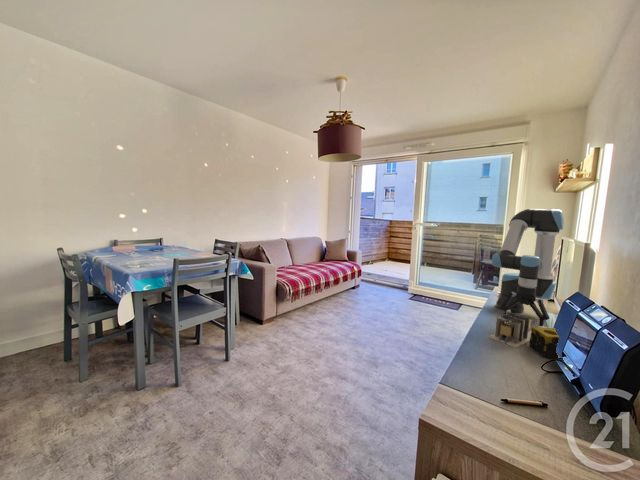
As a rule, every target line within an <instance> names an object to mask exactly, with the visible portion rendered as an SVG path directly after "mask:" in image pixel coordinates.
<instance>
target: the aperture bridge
mask: <svg viewBox="0 0 640 480" xmlns="http://www.w3.org/2000/svg"><path fill="white" fill-rule="evenodd" d="M495 321H496V322H495V332H494V334H495V336H496V337H499V336H500V329H501V322H502V321H504V322H505V323H506V321H508V319H505V318H502V317H501V316H498V317H496V320H495ZM509 323H510V324H513V325H515V332H514V340H513V343H515V344H517V343H518V342H519V334H520V326H521V323H518V322H515V321H511V320H510V321H509Z"/></svg>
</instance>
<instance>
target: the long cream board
mask: <svg viewBox="0 0 640 480" xmlns="http://www.w3.org/2000/svg"><path fill="white" fill-rule="evenodd" d="M532 327H537V319H531V324H530V328H529V329H528V337H527V339H525V338H523V336H522V342H520V341H519V342H518V343H517V344H515V343H513V340H514V336H512V337H508V336H505V335H503V334H500V336H499V337H496V336H495V333H494V334H491V335H489V339H492V340H494V341H496V342H497V341H498V342H500V343H502V344H505V345H508V346H511V347H514V348H515V349H519V348H520V347H522V346H524V345H526V344H528V343H529V342H530V337H531V328H532ZM541 327H544V328H548V327H547V326H544V325H543V326H541ZM523 332H524V331H523Z"/></svg>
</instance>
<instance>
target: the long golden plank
mask: <svg viewBox="0 0 640 480" xmlns="http://www.w3.org/2000/svg"><path fill="white" fill-rule="evenodd" d="M517 319H518V318H517ZM520 320H521V319H520ZM531 321H532V319H530V321H529V328H530V324H531ZM524 324H525V321H524ZM523 331H524V328H523ZM514 332H515V325H513V324H510V323H509V322H507V323H506V322H505V323H504V324H502V325H501V329H500V334H503V335H505V336H508V337H512V336H514Z"/></svg>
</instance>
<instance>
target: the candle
mask: <svg viewBox="0 0 640 480" xmlns="http://www.w3.org/2000/svg"><path fill="white" fill-rule="evenodd" d="M544 327H545V326H544ZM544 327H532V328H531V337H530V341H529V342H528V343H529V348H530V349H531V350H532V351H534V352H535V353H537V354H538V355H539V356H540V357H542V358H543V359H557V358H558V355H557V353H556V347H557V343H558V340H559V336H558V334H557V332H556V330H555V329H556V328H555V327H547V328H544Z"/></svg>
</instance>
